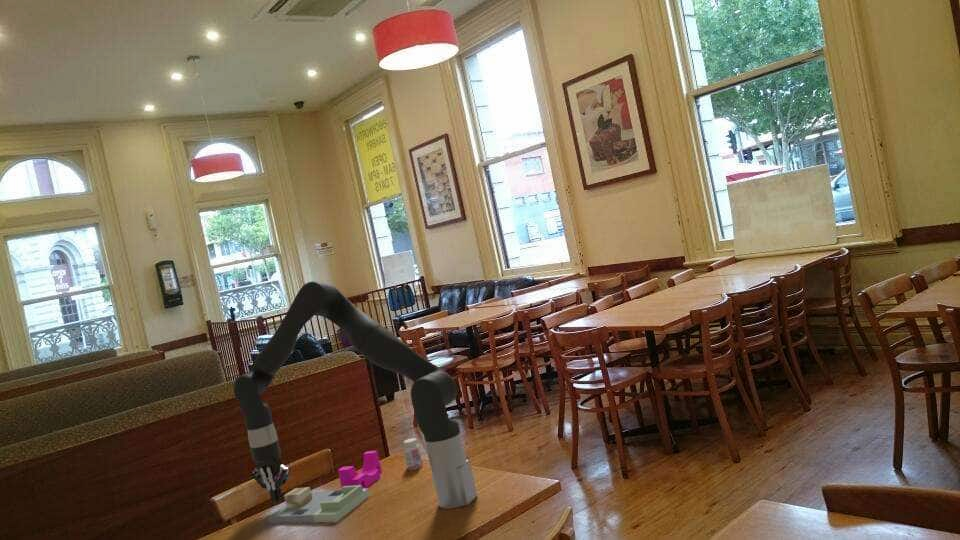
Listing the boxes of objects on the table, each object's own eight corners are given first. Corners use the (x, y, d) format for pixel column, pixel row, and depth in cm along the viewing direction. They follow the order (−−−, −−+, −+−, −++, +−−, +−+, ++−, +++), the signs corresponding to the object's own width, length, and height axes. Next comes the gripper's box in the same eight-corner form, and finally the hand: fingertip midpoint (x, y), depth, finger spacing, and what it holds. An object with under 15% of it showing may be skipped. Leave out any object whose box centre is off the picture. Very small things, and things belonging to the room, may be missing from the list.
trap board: (370, 497, 187) (366, 481, 187) (337, 523, 172) (333, 506, 172) (306, 500, 196) (303, 485, 195) (269, 526, 181) (266, 509, 181)
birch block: (312, 499, 188) (309, 487, 188) (301, 507, 183) (298, 494, 183) (298, 500, 190) (295, 488, 190) (286, 507, 185) (284, 495, 185)
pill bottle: (417, 470, 202) (411, 442, 202) (404, 470, 205) (398, 443, 205) (426, 464, 206) (420, 437, 206) (414, 464, 209) (408, 437, 209)
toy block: (361, 494, 191) (355, 469, 191) (343, 495, 194) (337, 470, 194) (389, 474, 205) (384, 450, 205) (372, 474, 208) (367, 451, 207)
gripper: (291, 435, 190) (304, 494, 190) (254, 439, 195) (268, 497, 195) (273, 444, 183) (287, 506, 183) (236, 448, 188) (250, 508, 188)
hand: (277, 501), depth 189 cm, fingers closed
